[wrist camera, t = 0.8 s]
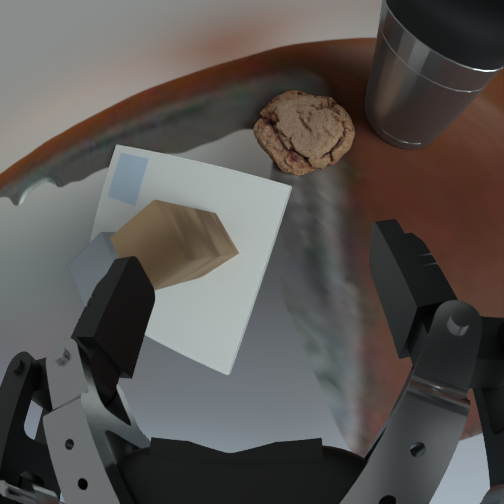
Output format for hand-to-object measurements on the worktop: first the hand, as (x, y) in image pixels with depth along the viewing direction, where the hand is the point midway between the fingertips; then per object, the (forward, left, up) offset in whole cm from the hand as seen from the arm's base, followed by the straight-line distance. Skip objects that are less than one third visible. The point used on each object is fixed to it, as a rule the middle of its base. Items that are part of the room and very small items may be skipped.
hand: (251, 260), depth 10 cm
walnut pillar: (+3, -9, -20) cm, 23 cm away
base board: (+6, -15, -21) cm, 27 cm away
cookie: (-12, -3, -22) cm, 25 cm away
